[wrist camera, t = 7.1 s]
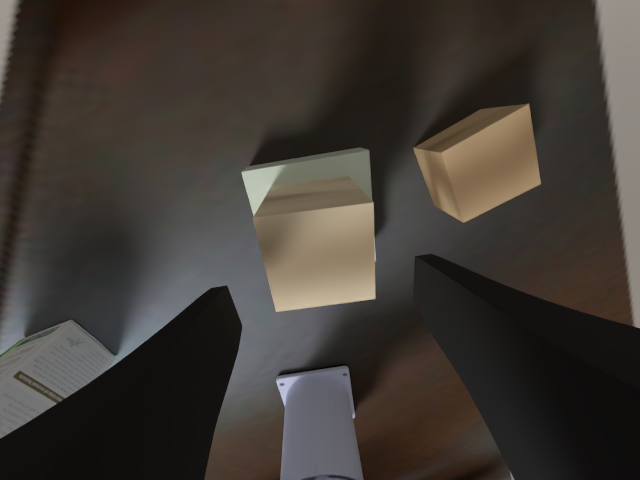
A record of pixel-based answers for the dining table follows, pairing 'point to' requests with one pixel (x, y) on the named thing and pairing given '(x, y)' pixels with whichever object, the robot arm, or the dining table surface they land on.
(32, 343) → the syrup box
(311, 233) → the maple block
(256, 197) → the plinth block
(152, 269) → the dining table surface
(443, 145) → the oak block
